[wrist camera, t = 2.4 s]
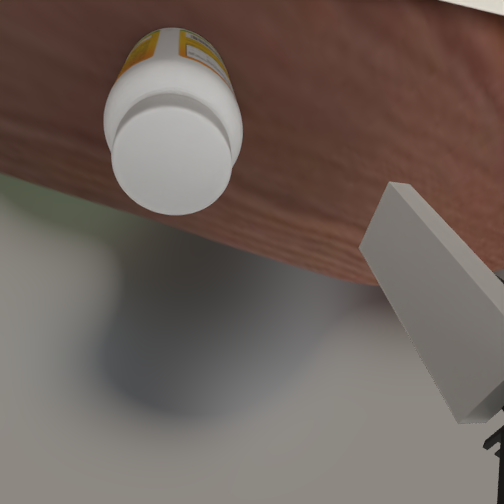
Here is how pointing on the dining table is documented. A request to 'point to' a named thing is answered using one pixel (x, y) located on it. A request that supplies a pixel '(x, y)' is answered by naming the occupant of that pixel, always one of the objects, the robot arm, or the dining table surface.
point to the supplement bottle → (173, 123)
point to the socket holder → (481, 5)
